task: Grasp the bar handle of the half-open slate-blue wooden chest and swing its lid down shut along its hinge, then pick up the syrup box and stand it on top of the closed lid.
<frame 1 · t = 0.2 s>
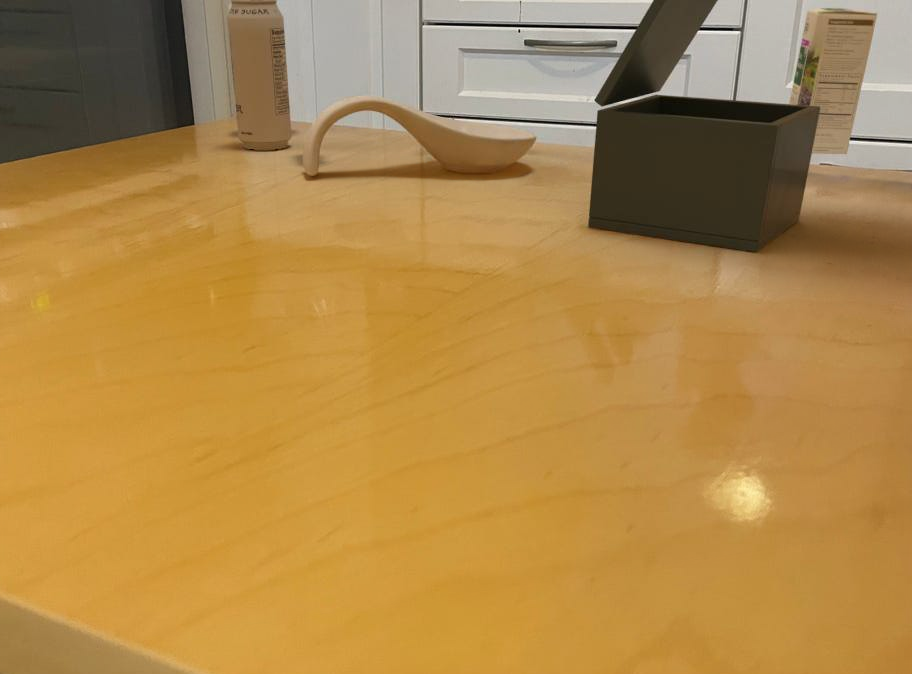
chest: (694, 224, 76), on the table
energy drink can: (266, 148, 108), on the table
syrup box: (810, 165, 100), on the table
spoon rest: (421, 173, 96), on the table
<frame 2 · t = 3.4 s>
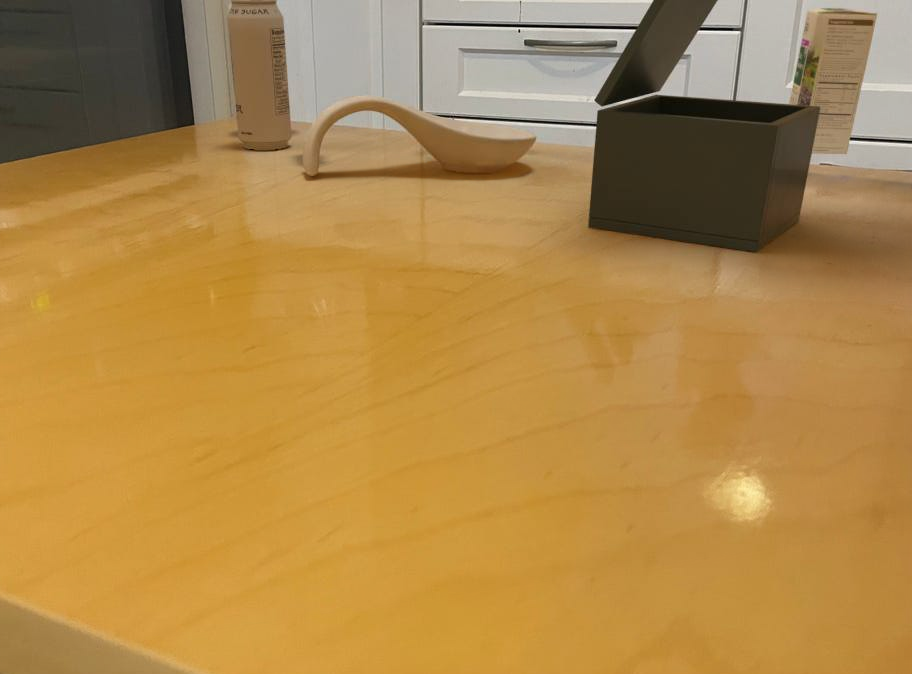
everything else where it was.
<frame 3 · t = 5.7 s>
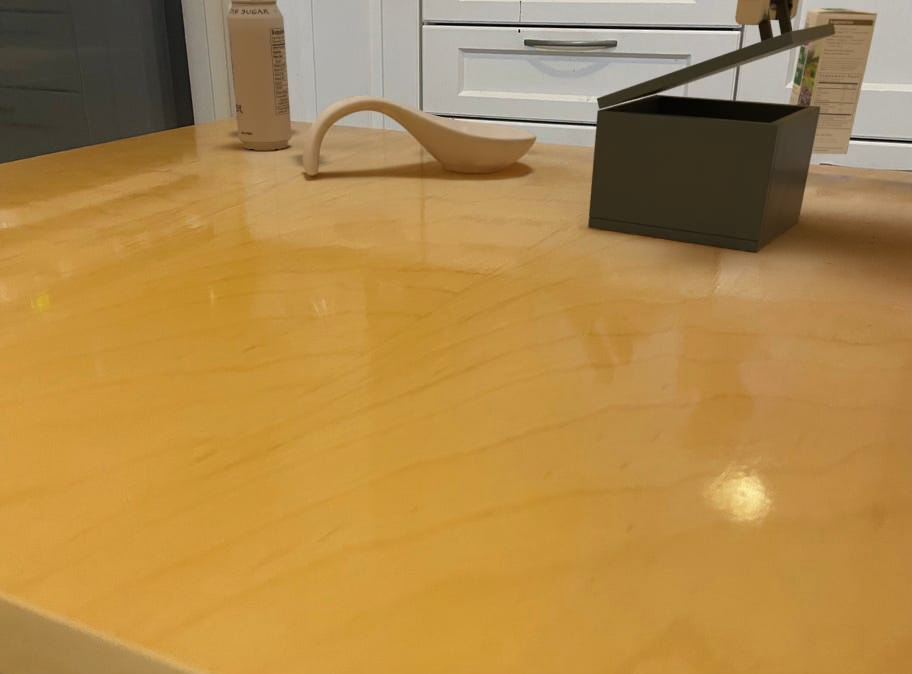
hand: (766, 22, 68), 15 cm above the table, tool pointing down, fingers closed on lid, 6 cm apart
lid: (709, 36, 70), point 14 cm above the table, hinge at 20.2°, touching gripper
everything else where it was.
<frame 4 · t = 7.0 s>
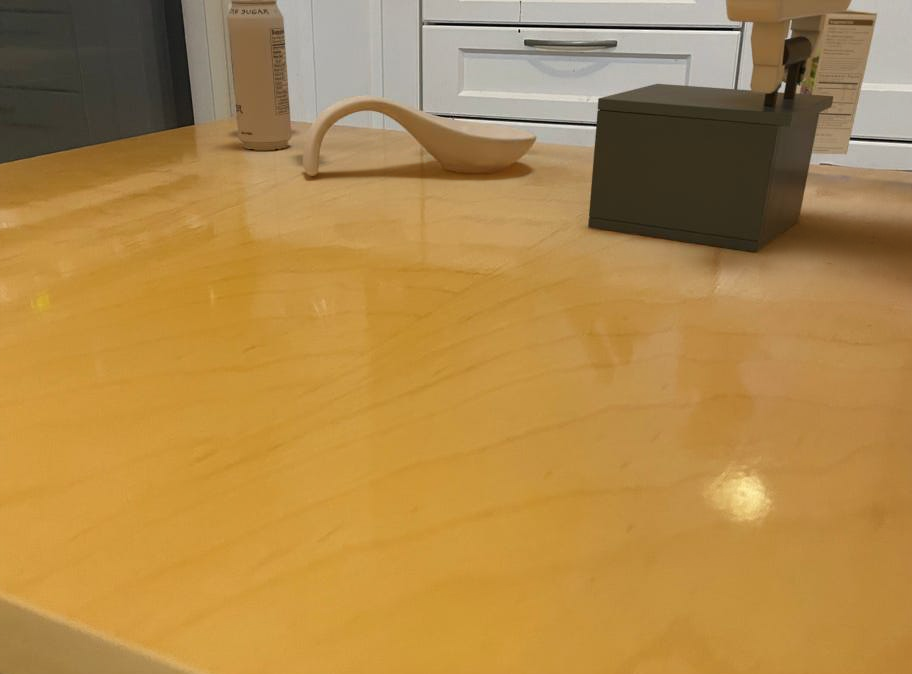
hand: (779, 87, 69), 11 cm above the table, tool pointing down, fingers closed on lid, 6 cm apart
lid: (720, 72, 71), point 11 cm above the table, hinge at -0.2°, touching chest, gripper
everything else where it was.
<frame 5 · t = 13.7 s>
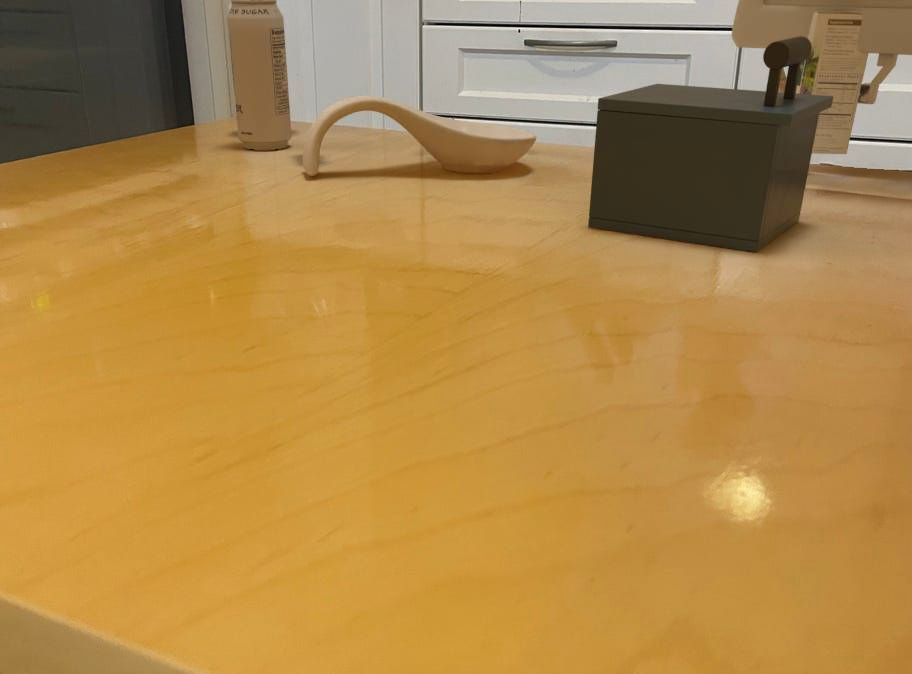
hand: (823, 100, 96), 6 cm above the table, tool pointing down, fingers closed on syrup box, 7 cm apart
syrup box: (810, 165, 100), on the table, touching gripper
lid: (720, 72, 71), point 11 cm above the table, hinge at -0.2°, touching chest
everything else where it was.
when the fingers open (16 cm above the table, at t = 22.4 s): syrup box stays where it is, resting on lid.
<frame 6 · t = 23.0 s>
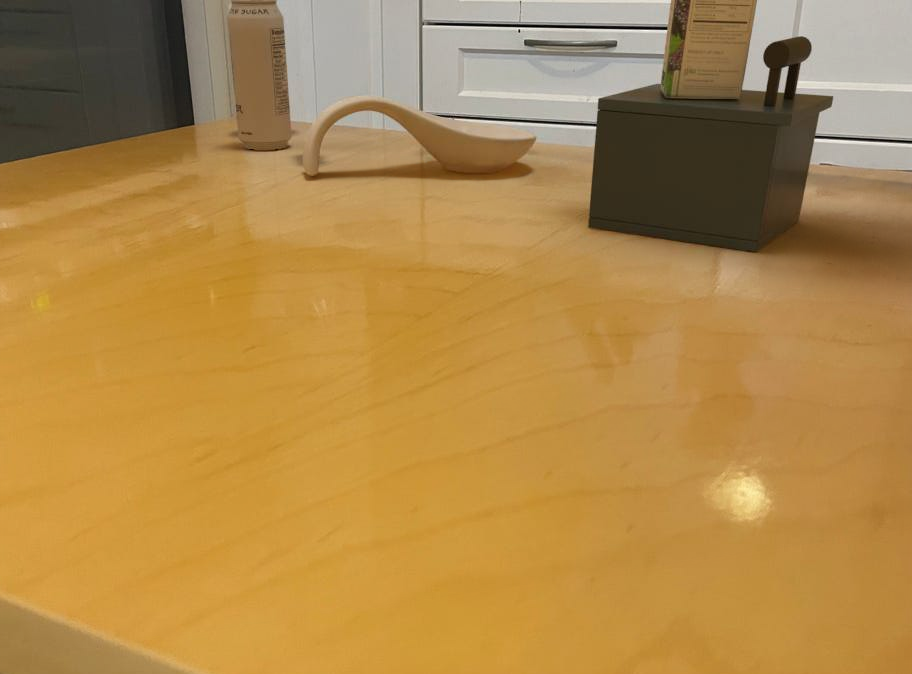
syrup box: (699, 98, 72), point 9 cm above the table, touching lid
lid: (720, 72, 71), point 11 cm above the table, hinge at -0.2°, touching chest, syrup box
everything else where it was.
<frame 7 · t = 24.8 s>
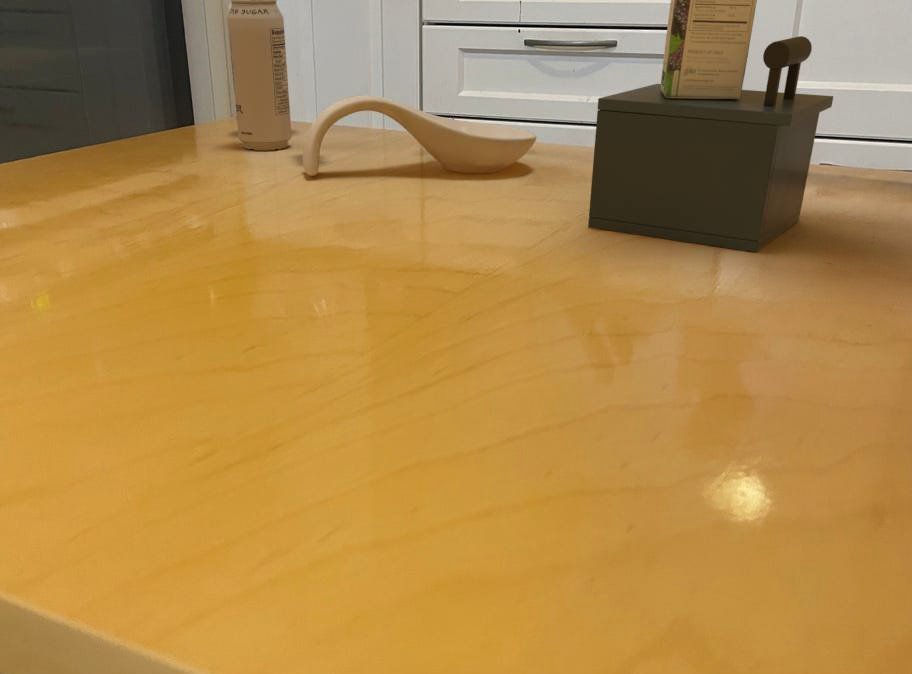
nothing on the table moved.
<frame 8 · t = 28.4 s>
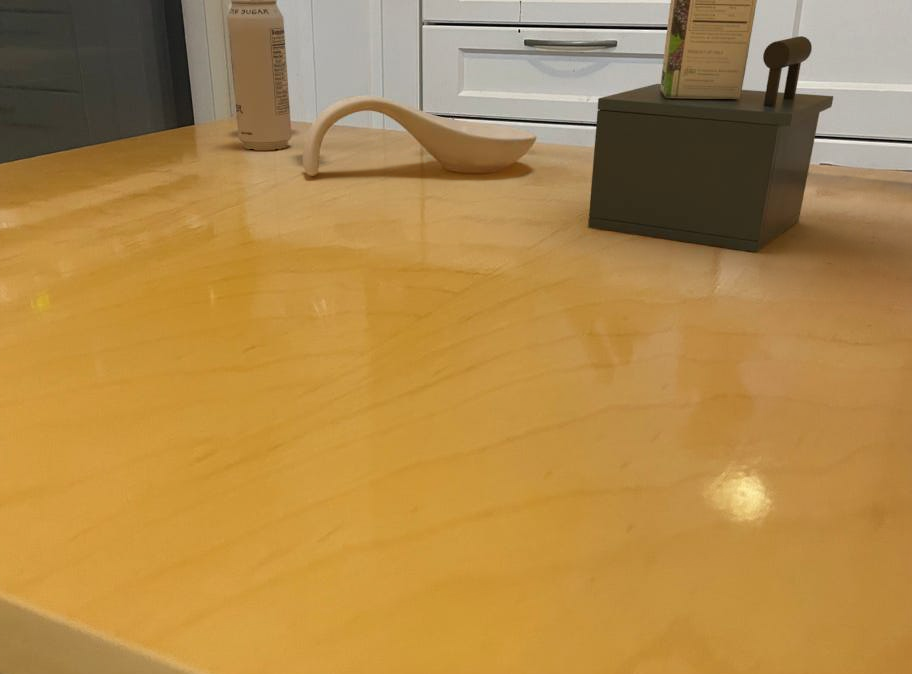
nothing on the table moved.
at the end: lid at +0° (first picture: +60°); syrup box inside the target area on the chest (1.0 cm from its centre), point 9.4 cm above the chest's base; syrup box tilted 0° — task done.
